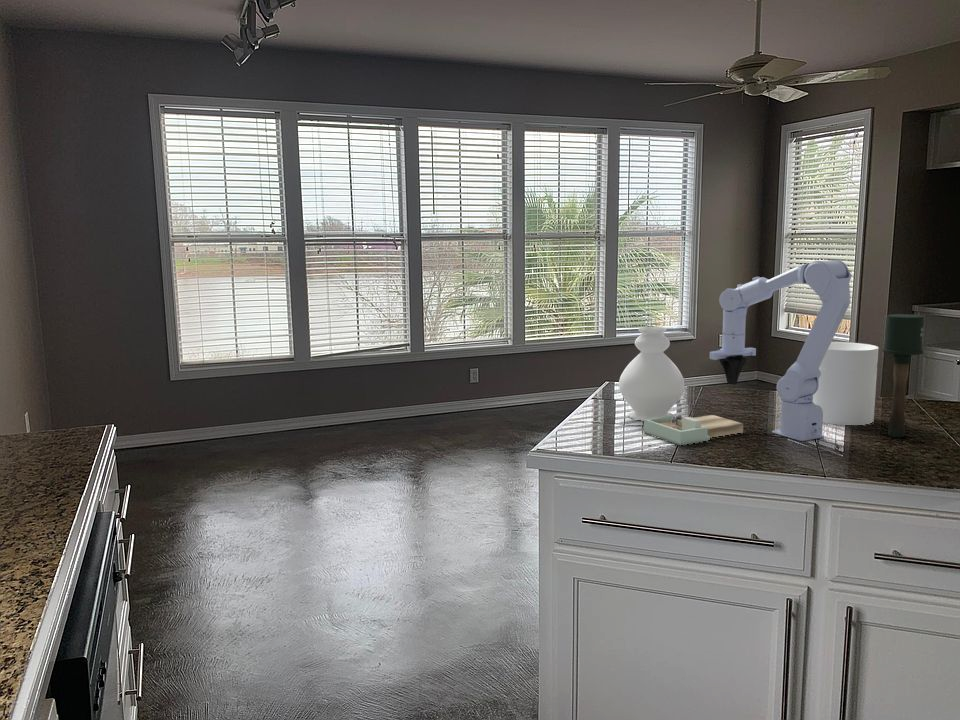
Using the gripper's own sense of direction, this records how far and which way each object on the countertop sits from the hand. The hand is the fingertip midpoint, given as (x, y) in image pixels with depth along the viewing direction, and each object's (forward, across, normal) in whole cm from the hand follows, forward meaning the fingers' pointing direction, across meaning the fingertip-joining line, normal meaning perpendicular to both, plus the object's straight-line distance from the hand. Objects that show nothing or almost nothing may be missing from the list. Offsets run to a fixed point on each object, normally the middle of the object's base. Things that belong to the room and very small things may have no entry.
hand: (731, 383), depth 197 cm
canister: (+11, -28, +12) cm, 32 cm away
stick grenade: (+11, -24, +31) cm, 41 cm away
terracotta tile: (+8, +24, +2) cm, 25 cm away
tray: (+10, +23, +5) cm, 26 cm away
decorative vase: (+11, +15, -15) cm, 24 cm away
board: (+10, +12, +5) cm, 17 cm away
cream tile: (+8, +20, +8) cm, 23 cm away
